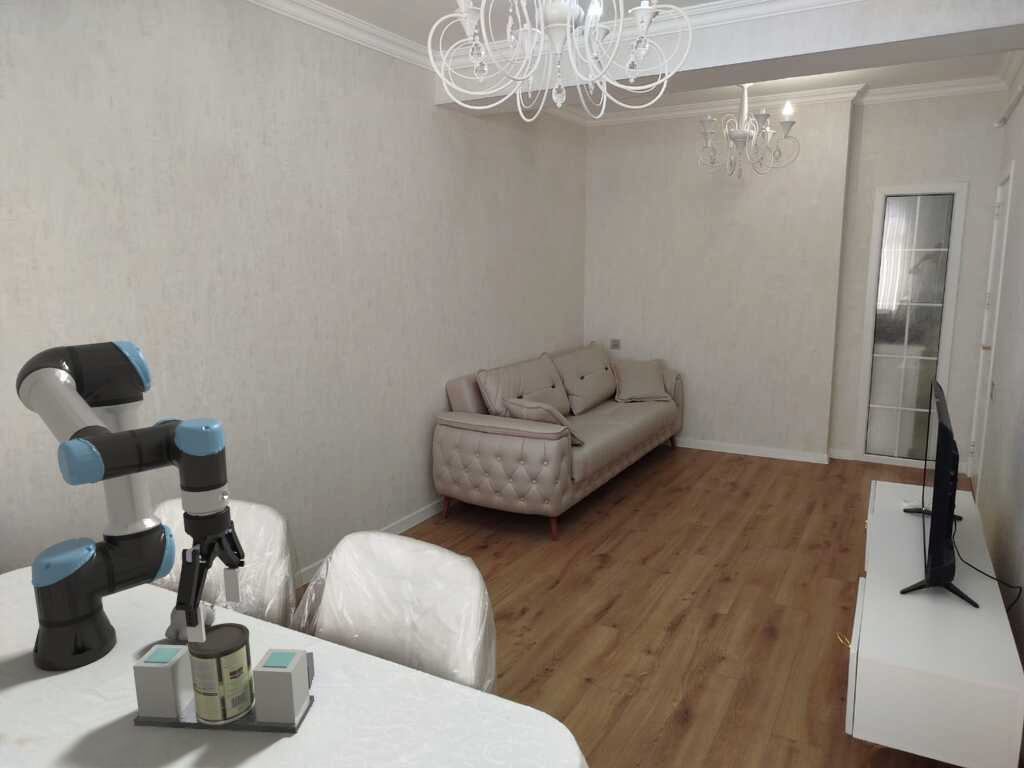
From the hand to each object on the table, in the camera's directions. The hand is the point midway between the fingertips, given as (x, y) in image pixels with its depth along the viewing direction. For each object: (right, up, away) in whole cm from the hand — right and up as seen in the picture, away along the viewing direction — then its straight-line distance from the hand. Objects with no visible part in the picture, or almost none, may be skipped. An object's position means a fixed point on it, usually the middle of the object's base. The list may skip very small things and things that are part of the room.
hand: (216, 620), depth 128 cm
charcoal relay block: (+11, -16, +12) cm, 23 cm away
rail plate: (+1, -18, +3) cm, 19 cm away
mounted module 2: (+11, -17, +2) cm, 21 cm away
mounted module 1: (-10, -17, +4) cm, 20 cm away
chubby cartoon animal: (-17, -13, +31) cm, 38 cm away
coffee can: (0, -17, +3) cm, 18 cm away
